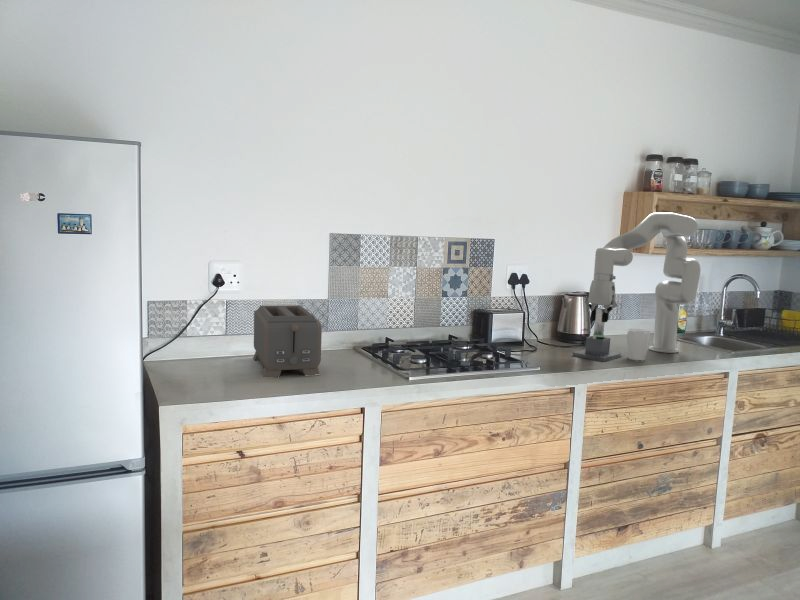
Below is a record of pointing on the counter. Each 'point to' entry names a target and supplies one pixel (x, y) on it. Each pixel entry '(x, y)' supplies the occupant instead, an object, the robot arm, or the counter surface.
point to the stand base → (597, 350)
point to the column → (599, 323)
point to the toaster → (287, 339)
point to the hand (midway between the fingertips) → (599, 320)
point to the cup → (637, 343)
